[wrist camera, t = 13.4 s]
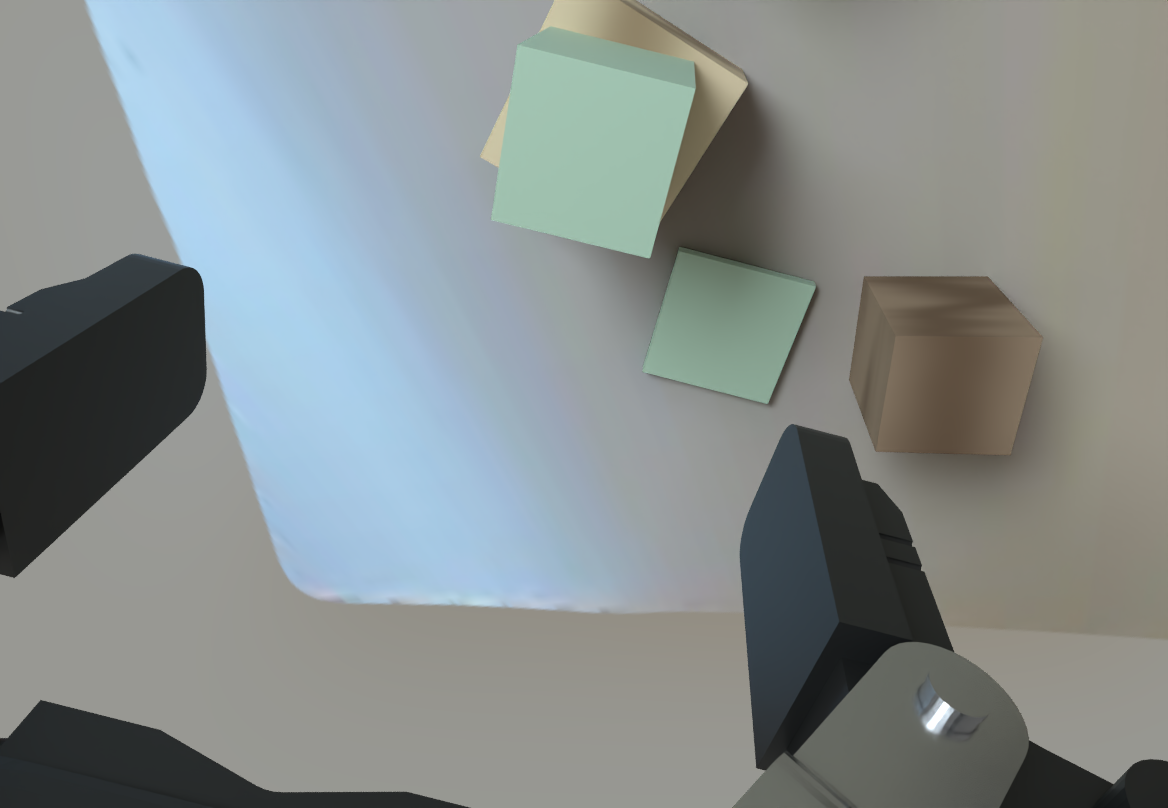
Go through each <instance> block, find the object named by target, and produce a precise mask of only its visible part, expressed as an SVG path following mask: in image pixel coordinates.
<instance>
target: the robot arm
mask: <svg viewBox="0 0 1168 808" xmlns="http://www.w3.org/2000/svg"><path fill="white" fill-rule="evenodd" d="M206 370H207V369H206V339H205V310H204V288H203V282H202V279H201V276H200V274H199V273H198V272H197V271H196V270H195V269H193V268H191V267H187V266H183V265H179V264H175V263H171V262H168V261H163V260H160V259H156V258H152V257H148V256H144V255H140V254H131V255H128V256H126V257H124V258H123V259H121V260H119V261H117V262H115V263H113V264H111V265H110V266H108V267H106V268H104V269H102V270H100V271H98V272H97V273H95V274H93V275H91V276H89V277H87V278H85V279H81V280H77V281H73V282H69V283H65V284H61V285H57V286H53V287H49V288H45V289H41V290H39V291H37V292H35V293H33V294H31V295H29V296H27V297H25V298H24V299H22V300H20V301H18V302H16V303H14V304H12V305H10V306H8V307H7V310H6V312H3V311H0V574H2V575H6V576H10V577H13V578H15V577H16V576H17V575H18V574H19V573H21V572H22V571H23V570H24V569H25V568H26V567H27V566H28V565H29V564H30V563H31V562H32V561H33V560H34V559H36V557H38V556H39V555H40V554H41V553H42V552H43V551H44V550H45V549H46V548H47V547H49V546H50V545H51V544H52V543H53V542H54V541H55V540H56V539H57V538H58V537H59V536H60V535H61V534H62V533H64V532H65V531H66V530H67V529H68V528H69V527H70V526H71V525H72V524H73V523H74V522H75V521H77V520H78V519H79V518H80V517H81V516H82V515H83V514H84V513H85V512H86V511H87V510H88V509H89V508H90V507H91V506H93V505H94V504H95V503H96V502H97V501H98V500H99V499H100V498H101V497H102V496H103V495H105V494H106V492H108V491H109V490H110V489H111V488H112V487H113V486H114V485H115V484H116V483H117V482H118V481H120V479H122V478H123V477H124V476H125V475H126V474H127V473H128V472H129V471H130V470H131V469H133V468H134V467H135V466H136V465H137V464H138V463H139V462H140V461H141V460H142V459H143V458H144V457H145V456H147V455H148V454H149V453H150V452H151V451H152V450H153V449H154V448H155V447H156V446H157V445H158V444H159V443H160V442H162V440H164V439H165V438H166V437H167V436H168V435H169V434H170V433H171V432H172V431H173V430H174V429H175V428H176V427H178V426H179V425H180V424H181V423H182V422H183V421H184V420H185V419H186V418H187V417H188V416H189V415H190V414H191V413H192V412H193V411H194V409H195V408H196V406H197V404H198V402H199V400H200V398H201V395H202V393H203V389H204V386H205V381H206ZM912 542H913V540H912V538H911V535H910V532H909V530H908V527H907V524H906V522H905V519H904V516H903V514H902V512H901V511H900V509H899V508H898V507H897V506H896V505H895V504H894V502H893V501H892V500H891V499H890V498H889V497H888V496H887V494H886V493H885V492H884V491H883V490H882V489H881V487H880V486H879V485H878V484H876V483H872V482H868V481H864V480H862V479H861V476H860V473H859V470H858V467H857V463H856V460H855V457H854V454H853V451H852V448H851V445H850V442H849V440H848V439H847V438H845V437H841V436H837V435H833V434H829V433H825V432H821V431H818V430H814V429H810V428H806V427H802V426H798V425H794V424H791V425H789V426H788V427H787V428H786V430H785V431H784V433H783V434H782V436H781V438H780V441H779V443H778V445H777V447H776V450H775V452H774V454H773V457H772V459H771V461H770V464H769V466H768V468H767V471H766V473H765V475H764V477H763V480H762V482H761V484H760V487H759V489H758V491H757V494H756V496H755V498H754V501H753V503H752V505H751V507H750V510H749V512H748V515H747V518H746V521H745V524H744V528H743V532H742V538H741V544H740V567H741V579H742V592H743V605H744V617H745V629H746V643H747V654H748V667H749V680H750V692H751V705H752V718H753V731H754V743H755V756H756V768H758V769H762V770H766V771H765V772H764V773H763V774H762V776H760V778H759V779H758V780H757V781H756V782H755V783H754V784H753V785H752V787H751V788H750V789H749V790H748V791H747V792H746V793H745V794H744V795H743V796H742V797H741V798H740V800H739V801H738V802H737V803H736V804H735V805H734V806H733V807H732V808H1168V762H1167V761H1163V760H1153V759H1150V760H1142V761H1139V762H1137V763H1135V764H1133V765H1132V766H1131V767H1130V768H1129V769H1128V770H1127V771H1126V772H1125V773H1124V774H1123V775H1122V777H1120V779H1118V780H1117V782H1116V783H1115V784H1112V783H1110V782H1108V781H1106V780H1104V779H1102V778H1100V777H1098V776H1096V775H1094V774H1092V773H1090V772H1089V771H1087V770H1084V769H1083V768H1081V767H1079V766H1077V765H1075V764H1073V763H1071V762H1069V761H1067V760H1065V759H1063V758H1061V757H1059V756H1057V755H1055V754H1053V753H1051V752H1049V751H1047V750H1046V749H1044V748H1042V747H1040V746H1038V745H1036V744H1035V743H1033V742H1031V741H1029V737H1028V732H1027V727H1026V725H1025V722H1024V719H1023V717H1022V715H1021V713H1020V712H1019V710H1018V708H1017V706H1016V705H1015V704H1014V702H1013V701H1012V699H1011V698H1010V697H1009V695H1008V694H1007V693H1006V692H1005V691H1004V690H1003V688H1002V687H1001V686H1000V685H999V684H998V683H997V682H996V681H995V680H993V679H992V678H991V677H990V676H989V675H988V674H987V673H986V672H984V671H983V670H981V669H980V668H979V667H978V666H976V665H975V664H973V663H971V662H970V661H969V660H967V659H965V658H963V657H962V656H960V655H958V654H956V653H954V650H953V647H952V645H951V642H950V640H949V637H948V634H947V632H946V629H945V626H944V623H943V621H942V618H941V615H940V613H939V610H938V607H937V605H936V602H935V599H934V597H933V594H932V591H931V589H930V586H929V583H928V581H927V578H926V575H925V573H924V572H923V571H921V566H922V564H921V562H920V559H919V556H918V554H917V551H916V548H915V547H912ZM0 808H469V807H465V806H461V805H457V804H453V803H449V802H445V801H441V800H437V799H433V798H429V797H425V796H421V795H417V794H413V793H409V792H298V793H297V792H291V793H290V792H284V793H283V792H272V791H269V790H264V789H262V788H260V787H258V786H256V785H254V784H252V783H251V782H249V781H247V780H245V779H244V778H242V777H240V776H239V775H237V774H235V773H233V772H232V771H230V770H228V769H226V768H225V767H223V766H221V765H220V764H218V763H216V762H214V761H213V760H211V759H209V758H207V757H206V756H204V755H202V754H201V753H199V752H197V751H196V750H194V749H192V748H190V747H189V746H187V745H185V744H183V743H181V742H180V741H178V740H177V739H175V738H173V737H171V736H169V735H168V734H166V733H164V732H163V731H161V730H158V729H154V728H150V727H146V726H142V725H138V724H134V723H130V722H126V721H122V720H118V719H114V718H110V717H106V716H102V715H98V714H94V713H90V712H86V711H82V710H78V709H74V708H70V707H66V706H62V705H58V704H54V703H50V702H46V701H42V700H40V702H39V703H38V704H37V705H36V706H35V707H34V709H33V710H32V711H31V712H30V713H29V714H28V715H27V717H26V718H25V719H24V720H23V721H22V722H21V724H20V725H19V726H18V727H17V728H16V729H15V730H14V732H13V733H12V734H11V735H10V736H9V738H0Z"/></svg>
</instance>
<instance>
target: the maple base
mask: <svg viewBox="0 0 1168 808" xmlns="http://www.w3.org/2000/svg"><path fill="white" fill-rule="evenodd" d="M550 26H552V27H556V28H560V29H564V30H568V31H572V32H576V33H580V34H584V35H588V36H593V37H597V38H601V39H605V40H609V41H613V42H617V43H621V44H625V45H629V46H633V47H637V48H641V49H645V50H649V51H653V52H657V53H661V54H665V55H669V56H674V57H678V58H682V59H686V60H690V61H694V68H695V86H696V89H695V93H694V97H693V101H692V104H691V108H690V112H689V115H688V119H687V123H686V127H685V130H684V134H683V138H682V141H681V145H680V149H679V153H678V156H677V160H676V164H675V167H674V171H673V175H672V179H671V182H670V186H669V190H668V193H667V197H666V201H665V205H664V208H663V212H662V216H661V219H660V222H661V220H662V219H663V217H664V215H665V214H666V212H667V211H668V209H669V208H670V206H671V204H672V203H673V201H674V200H675V198H676V197H677V195H678V193H679V192H680V190H681V189H682V187H683V186H684V184H685V182H686V181H687V179H688V178H689V176H690V175H691V173H692V171H693V170H694V168H695V167H696V165H697V164H698V162H699V160H700V159H701V157H702V156H703V154H704V153H705V151H706V149H707V148H708V146H709V145H710V143H711V142H712V140H713V138H714V137H715V135H716V134H717V132H718V131H719V129H720V127H721V126H722V124H723V123H724V121H725V120H726V118H727V116H728V115H729V113H730V112H731V110H732V109H733V107H734V105H735V104H736V102H737V101H738V99H739V98H740V96H741V94H742V93H743V91H744V90H745V88H746V87H747V85H748V82H747V80H746V77H745V75H744V73H743V70H742V69H741V68H739V67H738V66H736V65H734V64H733V63H731V62H730V61H728V60H727V59H725V58H724V57H722V56H721V55H719V54H718V53H716V52H714V51H713V50H711V49H710V48H708V47H707V46H705V45H704V44H702V43H701V42H699V41H698V40H696V39H694V38H693V37H691V36H690V35H688V34H687V33H685V32H684V31H682V30H681V29H679V28H678V27H676V26H674V25H673V24H671V23H670V22H668V21H667V20H665V19H664V18H662V17H661V16H659V15H658V14H656V13H654V12H653V11H651V10H650V9H648V8H647V7H645V6H644V5H642V4H641V3H639V2H638V1H636V0H555V1H554V3H553V5H552V7H551V9H550V11H549V13H548V15H547V17H546V19H545V21H544V24H543V26H542V28H541V30H540V32H541V31H543V30H545V29H547V28H548V27H550ZM540 32H539V33H540ZM509 98H510V95H509V97H508V99H507V101H506V103H505V105H504V107H503V109H502V111H501V113H500V115H499V118H498V120H497V122H496V124H495V126H494V128H493V130H492V132H491V134H490V136H489V138H488V141H487V143H486V145H485V147H484V149H483V151H482V153H481V155H480V157H481V158H483V159H485V160H486V161H488V162H490V163H491V164H493V165H495V166H496V167H498V168H499V164H500V157H501V150H502V144H503V137H504V131H505V124H506V118H507V111H508V105H509Z"/></svg>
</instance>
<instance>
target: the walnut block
mask: <svg viewBox="0 0 1168 808" xmlns="http://www.w3.org/2000/svg"><path fill="white" fill-rule="evenodd" d="M1042 339H1043V337H1042V336H1041V335H1040V334H1039V332H1038V331H1037V330H1036V329H1035V328H1034V327H1033V326H1032V325H1031V324H1030V323H1029V321H1028V320H1027V319H1026V318H1025V317H1024V316H1023V315H1022V314H1021V313H1020V312H1019V310H1018V309H1017V308H1016V307H1015V306H1014V305H1013V304H1012V303H1011V302H1010V301H1009V299H1008V298H1007V297H1006V296H1005V295H1004V294H1003V293H1002V292H1001V291H1000V290H999V288H998V287H997V286H996V285H995V284H994V283H993V282H992V281H991V280H990V279H989V277H864V280H863V287H862V294H861V301H860V308H859V315H858V322H857V329H856V336H855V343H854V350H853V357H852V364H851V371H850V378H849V381H850V383H851V386H852V389H853V391H854V394H855V397H856V399H857V402H858V405H859V408H860V410H861V413H862V416H863V418H864V421H865V424H866V426H867V429H868V432H869V435H870V437H871V440H872V443H873V445H874V448H875V451H876V452H909V453H946V454H983V455H1011V452H1012V448H1013V444H1014V441H1015V437H1016V433H1017V430H1018V426H1019V423H1020V419H1021V415H1022V412H1023V408H1024V405H1025V401H1026V397H1027V394H1028V390H1029V386H1030V383H1031V379H1032V376H1033V372H1034V368H1035V365H1036V361H1037V358H1038V354H1039V350H1040V347H1041V343H1042Z"/></svg>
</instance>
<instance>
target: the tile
mask: <svg viewBox="0 0 1168 808" xmlns="http://www.w3.org/2000/svg"><path fill="white" fill-rule="evenodd" d="M815 288H816V285H815V283H814V281H810V280H806V279H802V278H798V277H794V276H791V275H787V274H783V273H779V272H775V271H771V270H768V269H764V268H760V267H756V266H752V265H748V264H744V263H741V262H737V261H733V260H729V259H725V258H721V257H718V256H714V255H710V254H706V253H702V252H698V251H694V250H691V249H687V248H683V247H679V250H678V253H677V256H676V259H675V263H674V266H673V269H672V273H671V276H670V279H669V282H668V286H667V289H666V292H665V296H664V299H663V302H662V305H661V309H660V312H659V315H658V319H657V322H656V325H655V328H654V332H653V335H652V338H651V342H650V345H649V348H648V351H647V355H646V358H645V361H644V365H643V372H645V373H649V374H653V375H656V376H660V377H664V378H668V379H672V380H676V381H680V382H684V383H688V384H691V385H695V386H699V387H703V388H707V389H711V390H715V391H719V392H723V393H726V394H730V395H734V396H738V397H742V398H746V399H750V400H754V401H758V402H761V403H765V404H768V402H769V400H770V397H771V395H772V392H773V390H774V388H775V385H776V383H777V380H778V378H779V375H780V373H781V371H782V368H783V366H784V363H785V361H786V358H787V356H788V354H789V351H790V349H791V346H792V344H793V341H794V339H795V337H796V334H797V332H798V329H799V327H800V324H801V322H802V320H803V317H804V315H805V312H806V310H807V308H808V305H809V303H810V300H811V298H812V295H813V293H814V291H815Z"/></svg>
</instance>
